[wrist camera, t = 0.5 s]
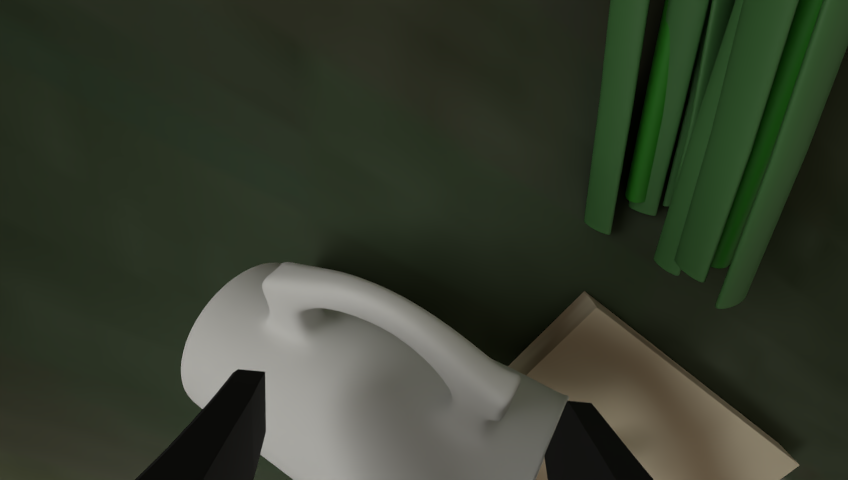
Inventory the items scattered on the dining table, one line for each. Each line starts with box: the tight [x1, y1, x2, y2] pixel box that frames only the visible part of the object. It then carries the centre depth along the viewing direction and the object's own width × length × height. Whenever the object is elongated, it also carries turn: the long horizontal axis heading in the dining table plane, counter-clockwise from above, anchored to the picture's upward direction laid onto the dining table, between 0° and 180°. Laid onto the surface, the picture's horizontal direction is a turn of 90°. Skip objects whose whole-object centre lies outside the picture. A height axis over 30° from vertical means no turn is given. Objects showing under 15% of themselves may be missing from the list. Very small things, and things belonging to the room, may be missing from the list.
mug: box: [181, 262, 569, 480], centre depth 16 cm, size 10×7×12 cm
